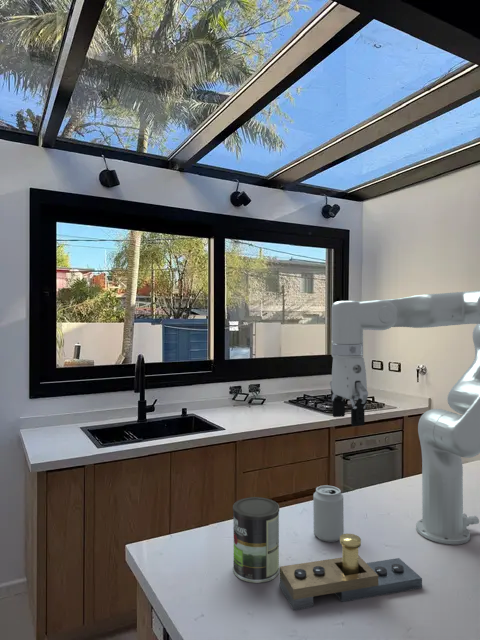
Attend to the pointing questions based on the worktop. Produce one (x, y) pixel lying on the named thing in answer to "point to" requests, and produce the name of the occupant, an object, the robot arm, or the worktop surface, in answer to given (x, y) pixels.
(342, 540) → the pin
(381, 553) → the worktop surface
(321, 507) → the can
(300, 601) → the peg hole board
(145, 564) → the worktop surface
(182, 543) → the worktop surface
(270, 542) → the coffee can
